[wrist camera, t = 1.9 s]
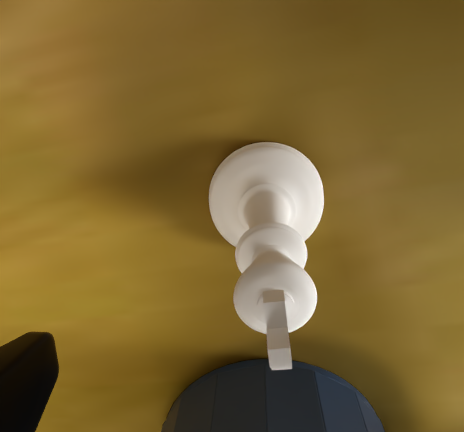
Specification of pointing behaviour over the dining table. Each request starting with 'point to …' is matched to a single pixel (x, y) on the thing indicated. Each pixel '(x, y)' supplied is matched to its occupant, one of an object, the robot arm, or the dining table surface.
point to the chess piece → (269, 237)
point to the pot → (271, 402)
